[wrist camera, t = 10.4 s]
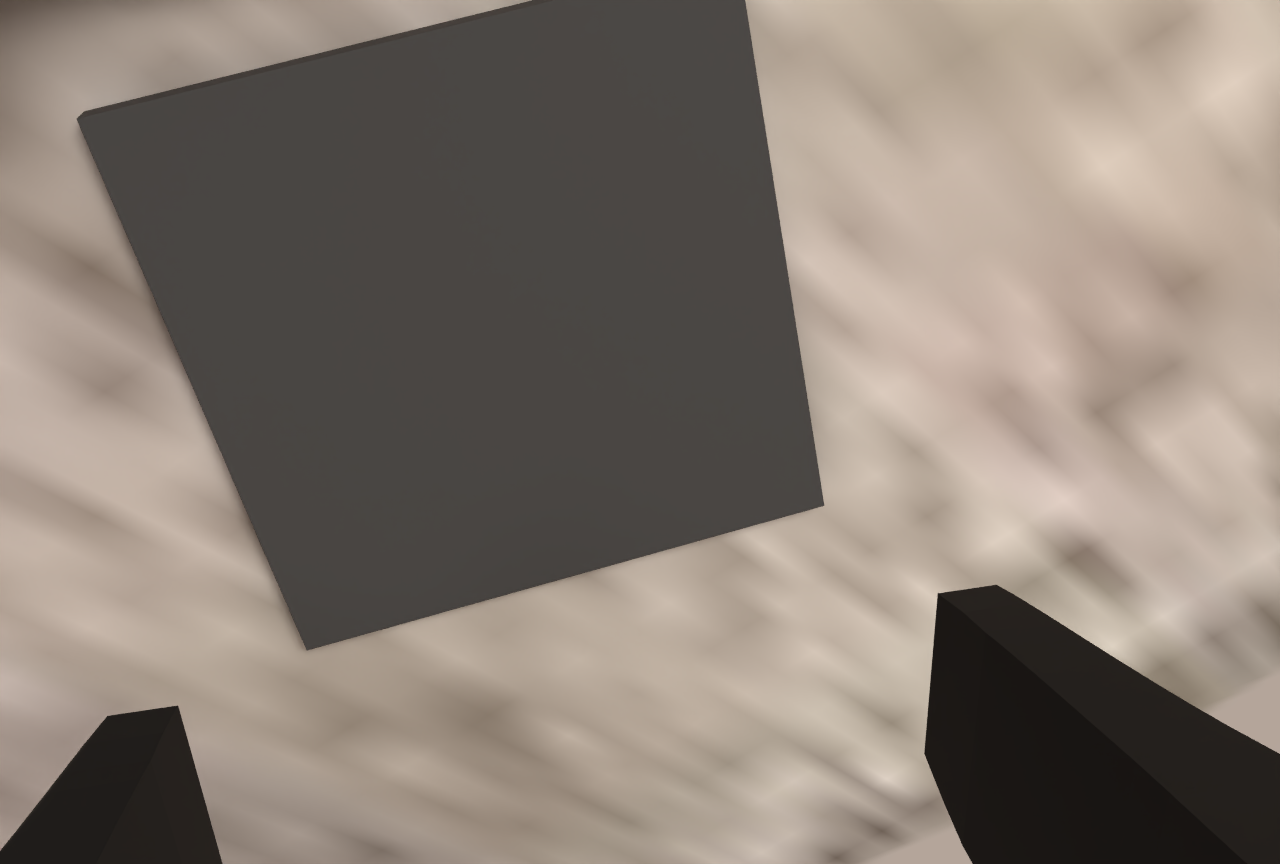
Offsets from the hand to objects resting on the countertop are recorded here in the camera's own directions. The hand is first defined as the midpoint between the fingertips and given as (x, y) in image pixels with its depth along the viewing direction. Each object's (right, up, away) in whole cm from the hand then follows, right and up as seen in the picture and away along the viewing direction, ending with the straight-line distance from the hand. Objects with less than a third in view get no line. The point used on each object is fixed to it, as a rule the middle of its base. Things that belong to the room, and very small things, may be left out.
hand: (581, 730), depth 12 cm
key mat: (-2, +5, +9) cm, 10 cm away
